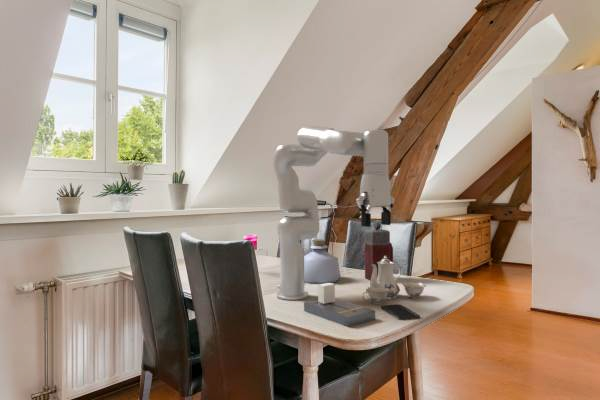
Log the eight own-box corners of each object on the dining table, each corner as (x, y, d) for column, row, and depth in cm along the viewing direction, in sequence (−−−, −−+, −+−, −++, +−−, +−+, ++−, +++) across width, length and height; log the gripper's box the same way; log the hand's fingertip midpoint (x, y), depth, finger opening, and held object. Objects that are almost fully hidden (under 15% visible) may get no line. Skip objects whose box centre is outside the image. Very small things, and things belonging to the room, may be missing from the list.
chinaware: (377, 313, 146) (380, 267, 144) (347, 298, 160) (350, 256, 158) (431, 301, 161) (434, 260, 159) (399, 289, 175) (402, 250, 173)
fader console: (304, 311, 143) (304, 302, 143) (330, 305, 150) (329, 296, 150) (348, 327, 126) (348, 317, 126) (375, 319, 133) (375, 310, 133)
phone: (399, 304, 148) (421, 316, 134) (399, 307, 149) (421, 319, 134) (379, 305, 147) (399, 317, 132) (379, 308, 147) (399, 321, 132)
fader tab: (318, 301, 142) (318, 284, 142) (329, 299, 146) (329, 282, 145) (323, 303, 140) (323, 286, 140) (334, 301, 143) (334, 284, 143)
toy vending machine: (394, 280, 192) (394, 220, 191) (372, 282, 189) (372, 220, 189) (386, 276, 200) (386, 219, 200) (364, 278, 198) (364, 219, 197)
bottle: (341, 276, 204) (341, 237, 203) (338, 284, 184) (338, 242, 184) (301, 274, 207) (301, 237, 207) (294, 283, 188) (294, 241, 187)
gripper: (383, 171, 136) (383, 223, 136) (347, 170, 125) (348, 226, 125) (402, 170, 131) (402, 224, 131) (367, 168, 119) (367, 228, 119)
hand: (376, 225), depth 128 cm, fingers open, 9 cm apart
